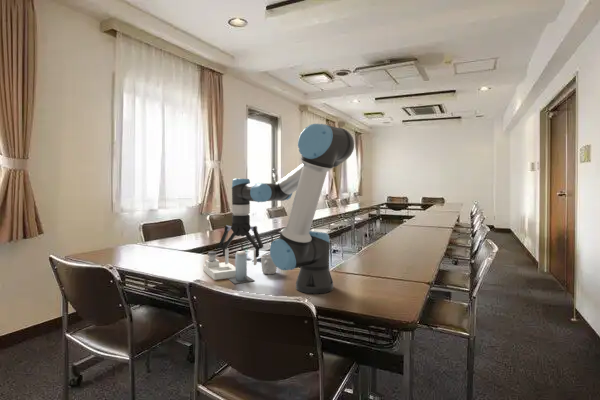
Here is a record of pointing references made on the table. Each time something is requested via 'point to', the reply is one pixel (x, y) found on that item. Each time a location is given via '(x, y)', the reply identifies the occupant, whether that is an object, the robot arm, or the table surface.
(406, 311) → the table surface
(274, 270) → the cup
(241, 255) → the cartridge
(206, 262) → the housing
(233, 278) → the pad
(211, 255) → the plunger
